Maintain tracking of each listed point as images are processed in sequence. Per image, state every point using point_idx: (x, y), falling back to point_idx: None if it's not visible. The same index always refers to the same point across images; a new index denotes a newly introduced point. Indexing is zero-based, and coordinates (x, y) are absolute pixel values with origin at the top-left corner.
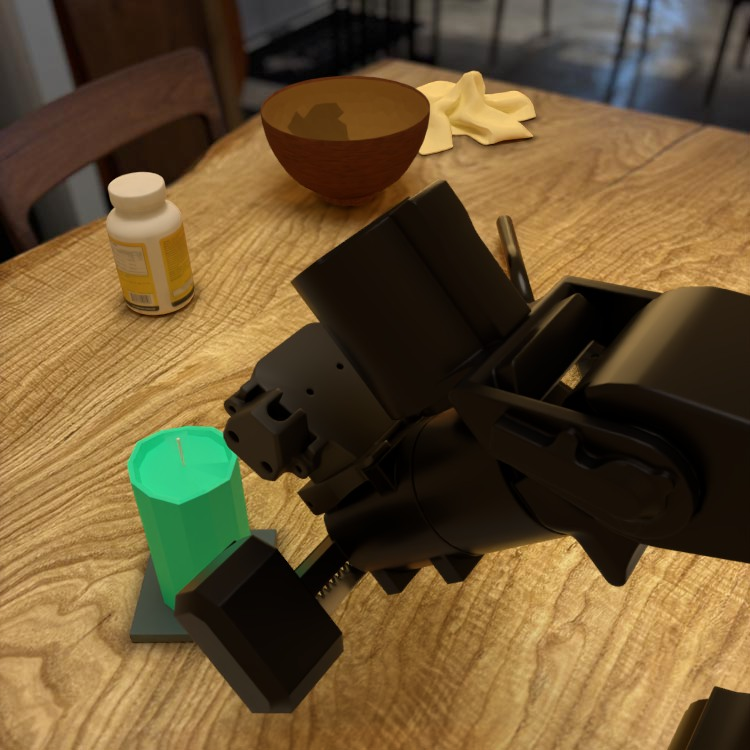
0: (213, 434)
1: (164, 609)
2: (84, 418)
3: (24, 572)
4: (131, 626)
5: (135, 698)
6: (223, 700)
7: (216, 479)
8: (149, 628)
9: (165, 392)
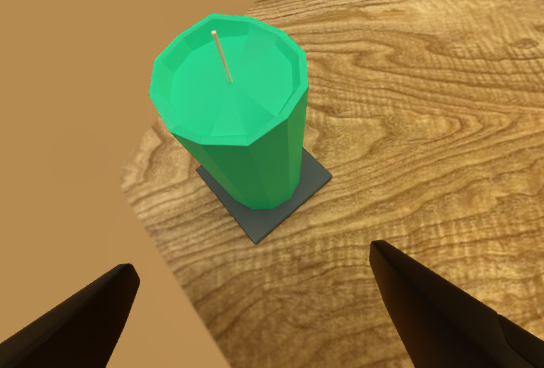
0: (297, 63)
1: None
2: (304, 8)
3: None
4: (201, 165)
5: (171, 208)
6: (202, 257)
7: (239, 130)
8: (206, 175)
9: (363, 19)
